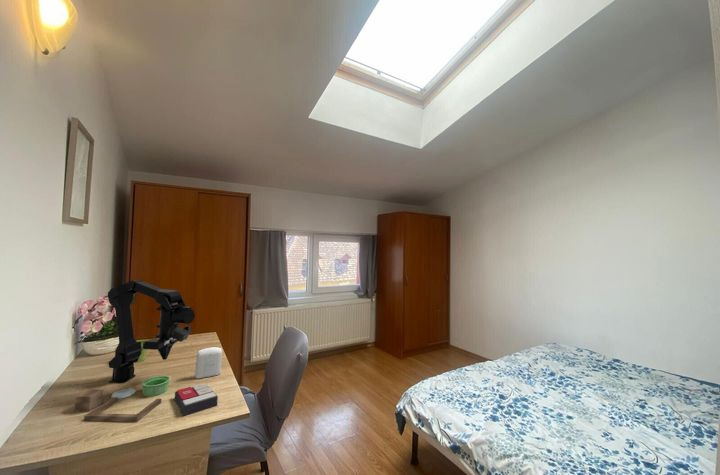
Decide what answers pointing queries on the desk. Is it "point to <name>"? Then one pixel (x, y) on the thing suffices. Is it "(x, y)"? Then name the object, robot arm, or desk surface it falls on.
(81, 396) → the walnut block
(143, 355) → the plant pot
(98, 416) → the bay
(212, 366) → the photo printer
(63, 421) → the desk surface
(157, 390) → the ramekin
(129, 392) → the pale grey dome
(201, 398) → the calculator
